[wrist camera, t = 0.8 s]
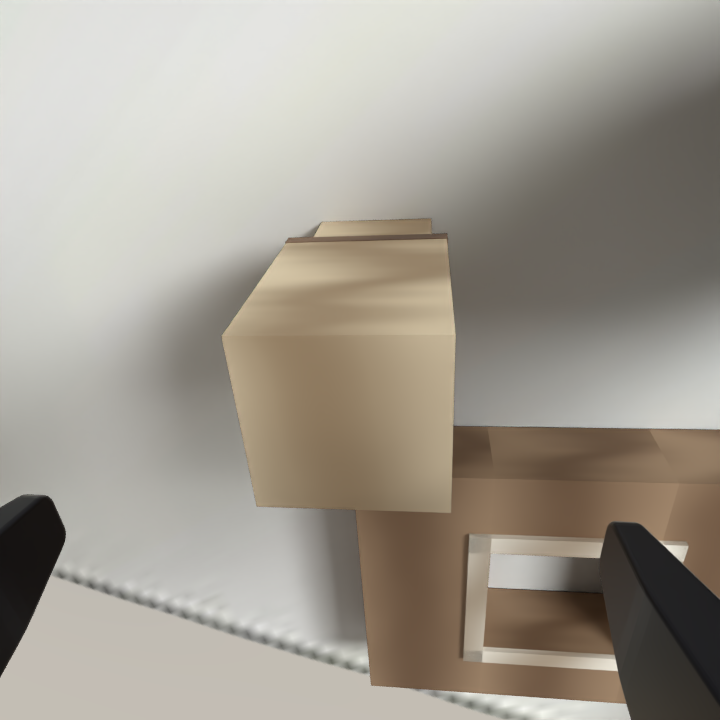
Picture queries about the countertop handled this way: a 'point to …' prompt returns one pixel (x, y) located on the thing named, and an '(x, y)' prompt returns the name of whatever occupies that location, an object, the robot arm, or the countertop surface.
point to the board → (529, 537)
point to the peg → (349, 370)
